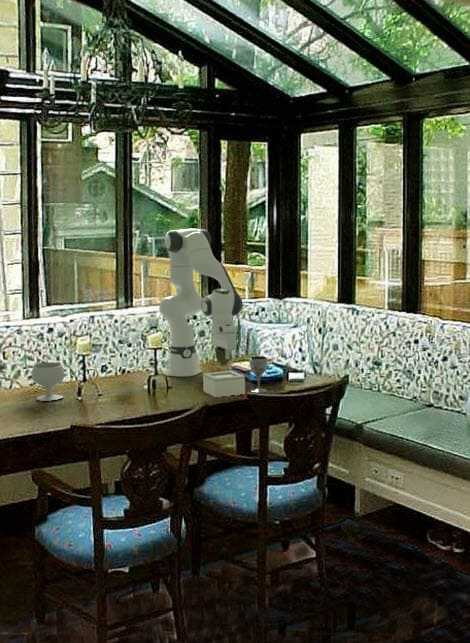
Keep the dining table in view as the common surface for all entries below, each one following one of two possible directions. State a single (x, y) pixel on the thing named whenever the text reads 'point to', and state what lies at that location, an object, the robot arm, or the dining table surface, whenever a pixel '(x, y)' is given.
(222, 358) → the cup
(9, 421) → the dining table surface
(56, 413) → the dining table surface
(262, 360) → the wine glass
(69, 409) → the dining table surface
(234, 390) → the open grey box
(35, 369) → the chalice
